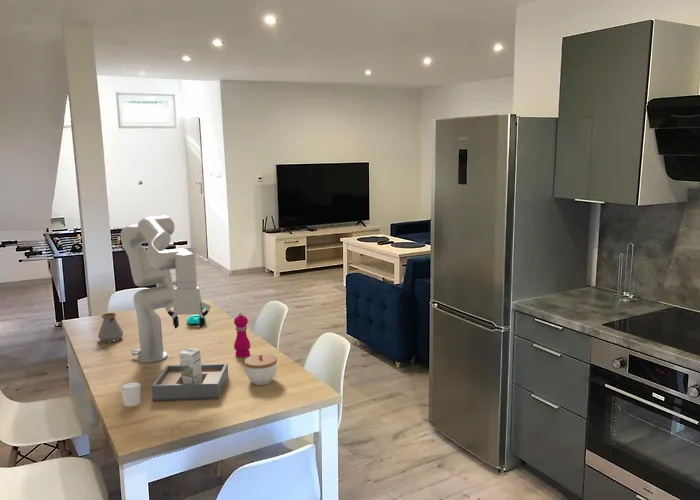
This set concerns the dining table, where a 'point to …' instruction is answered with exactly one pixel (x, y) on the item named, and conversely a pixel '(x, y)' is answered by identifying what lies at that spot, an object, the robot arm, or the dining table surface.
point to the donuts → (194, 318)
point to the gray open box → (174, 390)
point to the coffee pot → (110, 328)
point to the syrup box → (190, 366)
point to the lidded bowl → (261, 368)
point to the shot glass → (131, 393)
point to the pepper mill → (241, 337)
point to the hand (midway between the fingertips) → (189, 327)
